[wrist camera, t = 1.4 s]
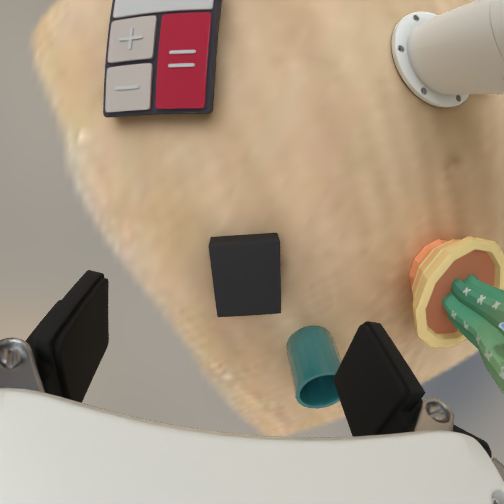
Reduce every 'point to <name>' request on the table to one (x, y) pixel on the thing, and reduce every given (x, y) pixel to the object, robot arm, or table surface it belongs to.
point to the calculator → (161, 57)
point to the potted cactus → (461, 297)
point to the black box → (246, 274)
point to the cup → (313, 366)
